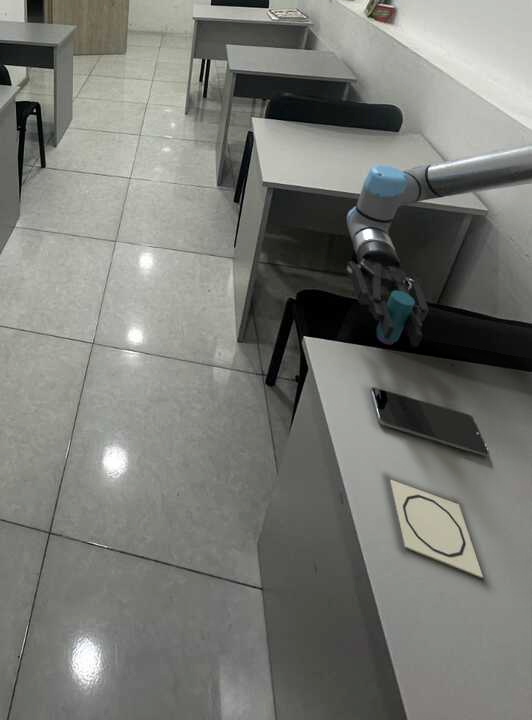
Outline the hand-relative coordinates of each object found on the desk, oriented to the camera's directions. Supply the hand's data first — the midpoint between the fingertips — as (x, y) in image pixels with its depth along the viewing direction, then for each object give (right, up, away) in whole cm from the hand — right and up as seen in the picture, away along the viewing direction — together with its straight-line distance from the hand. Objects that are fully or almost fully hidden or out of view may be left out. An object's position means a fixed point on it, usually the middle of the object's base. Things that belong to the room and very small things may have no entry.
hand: (403, 336), depth 82 cm
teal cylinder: (+1, -4, +7) cm, 8 cm away
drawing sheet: (-5, -20, -14) cm, 25 cm away
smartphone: (+4, -15, 0) cm, 15 cm away
